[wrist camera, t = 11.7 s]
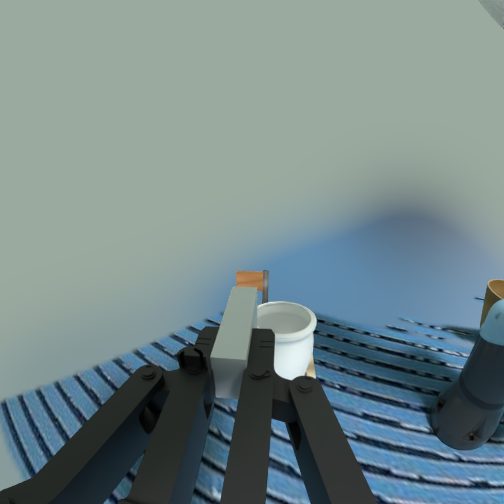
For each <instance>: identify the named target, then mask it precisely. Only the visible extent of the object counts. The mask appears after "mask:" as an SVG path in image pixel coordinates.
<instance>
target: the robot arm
mask: <svg viewBox="0 0 504 504" xmlns="http://www.w3.org/2000/svg"><path fill="white" fill-rule="evenodd" d="M479 1H480V3H481V4H482V5H483V7H484V8H485V9H486V11H488V13H489V14H490V15H491V16H492V18H494V20H495V21H496V22H497V23H499V25H500V26H501V27H502V28H503V29H504V0H479ZM274 352H275V334H274V332H273V331H272V329H260V328H257V287H233V288H232V291H231V294H230V297H229V300H228V303H227V306H226V309H225V312H224V315H223V318H222V322H221V325H220V327H209V326H206V327H205V328H203V329H202V330H201V331H200V333H199V335H198V338H197V340H196V342H195V345H194V346H189V347H185V348H183V349H181V350H180V351H179V352H178V353H177V357H178V362H179V366H180V368H179V369H177V370H173V371H164V372H162V370H161V368H160V367H158V366H157V365H152V364H150V365H144V366H141V367H140V368H139V369H137V370H136V371H135V372H134V373H133V374H132V375H131V376H130V377H129V379H128V380H127V381H126V382H125V383H124V384H123V385H122V386H121V387H120V388H119V389H118V390H117V391H116V392H115V393H114V394H113V395H112V396H111V397H110V398H109V399H108V400H107V401H106V402H105V403H104V404H103V405H102V406H101V407H100V409H99V410H98V411H97V412H96V413H95V414H94V415H93V416H92V417H91V418H90V419H89V420H88V421H87V422H86V423H85V424H84V425H83V426H82V427H81V428H80V429H79V430H78V431H77V432H76V433H75V434H74V435H73V436H72V438H71V439H70V440H69V441H68V442H67V443H66V444H65V445H64V446H63V447H62V448H61V449H60V450H59V451H58V452H57V453H56V454H55V455H54V456H53V457H52V458H51V459H50V460H49V461H48V462H47V463H46V464H45V466H44V467H43V468H42V469H41V470H40V471H39V472H38V473H37V474H36V475H35V476H34V477H33V478H31V479H28V480H26V481H24V482H21V483H19V484H17V485H14V486H12V487H9V488H7V489H4V490H2V491H0V504H103V503H104V502H105V501H106V499H107V498H108V497H109V496H110V494H111V493H112V492H113V491H114V489H115V488H116V487H117V486H118V484H119V483H120V482H121V481H122V479H123V478H124V477H125V475H126V474H127V473H128V472H129V470H130V469H131V468H132V466H133V465H134V464H135V462H136V461H137V460H138V458H139V457H140V456H141V455H142V453H143V452H144V451H145V449H146V448H147V449H146V451H145V454H144V457H143V459H142V462H141V464H140V467H139V469H138V472H137V474H136V477H135V480H134V482H133V485H132V487H131V490H130V493H129V495H128V496H127V497H126V498H124V499H121V500H120V501H119V502H118V503H117V504H190V503H191V499H192V495H193V491H194V487H195V483H196V479H197V475H198V471H199V466H200V462H201V458H202V454H203V450H204V446H205V442H206V438H207V434H208V430H209V425H210V421H211V417H212V413H213V409H214V399H213V398H214V394H215V393H216V397H217V398H227V399H238V405H237V411H236V417H235V422H234V428H233V434H232V439H231V445H230V451H229V456H228V462H227V467H226V473H225V478H224V483H223V489H222V494H221V500H220V504H265V502H266V490H267V477H268V464H269V450H270V434H271V418H272V419H276V420H279V421H282V422H285V424H286V427H287V431H288V434H289V437H290V440H291V444H292V447H293V450H294V453H295V456H296V459H297V462H298V466H299V469H300V472H301V475H302V478H303V481H304V484H305V487H306V490H307V493H308V497H309V500H310V503H311V504H377V502H376V500H375V498H374V496H373V494H372V492H371V489H370V487H369V485H368V483H367V481H366V479H365V477H364V475H363V473H362V470H361V468H360V466H359V464H358V462H357V460H356V458H355V456H354V453H353V451H352V449H351V447H350V445H349V443H348V441H347V439H346V437H345V435H344V432H343V430H342V428H341V426H340V424H339V422H338V420H337V418H336V416H335V414H334V411H333V409H332V407H331V405H330V403H329V401H328V399H327V397H326V395H325V393H324V390H323V388H322V386H321V384H320V383H319V381H318V380H317V379H315V378H313V377H311V376H298V377H295V378H294V379H293V380H288V379H285V378H282V377H281V376H279V375H278V374H277V373H276V372H275V370H274ZM503 412H504V299H502V300H499V301H497V302H496V303H495V304H494V305H493V306H492V307H491V308H490V310H489V312H488V315H487V317H486V319H485V322H484V323H483V325H482V326H481V328H480V334H479V336H478V338H477V341H476V343H475V345H474V347H473V349H472V352H471V354H470V356H469V358H468V360H467V362H466V364H465V365H464V368H463V369H462V371H461V373H460V375H459V376H458V377H457V378H456V379H455V380H453V381H452V382H451V383H450V384H449V385H448V386H447V387H446V388H445V389H443V390H442V391H441V393H440V394H439V395H438V397H437V399H436V400H435V402H434V404H433V406H432V408H431V413H430V419H431V424H432V427H433V429H434V431H435V433H436V435H437V436H438V437H439V438H440V439H441V440H442V441H443V442H444V443H445V444H447V445H448V446H450V447H452V448H455V449H459V450H472V449H476V448H478V447H480V446H482V445H483V444H485V443H486V442H487V441H488V440H489V438H490V437H491V436H492V435H493V434H494V432H495V431H496V429H497V427H498V425H499V422H500V420H501V417H502V415H503Z"/></svg>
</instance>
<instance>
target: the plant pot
mask: <svg viewBox="0 0 504 504" xmlns="http://www.w3.org/2000/svg"><path fill="white" fill-rule="evenodd" d="M502 299H504V280H500V279H493V280H490V281H489V282H488V285H487V289H486V294H485V300H484V305H483V311H482V317H481V323H480V328H481V326H482V325H483V323H484V322H485V319H486V317H487V315H488V312H489V310H490V308H491V307H492V306H493V305H494V304H495V303H496V302H497V301H499V300H502ZM479 334H480V331H479Z"/></svg>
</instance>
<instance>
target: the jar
mask: <svg viewBox="0 0 504 504" xmlns="http://www.w3.org/2000/svg"><path fill="white" fill-rule="evenodd" d="M316 321H317V320H316V316H315V314H314V313H313V312H312V311H311V310H310V309H308V308H307V307H305V306H303V305H300V304H297V303H292V302H281V301H278V302H269V303H264V304H261V305H259V306H257V328H260V329H272V331H273V332H274V334H275V352H274V370H275V372H276V373H277V374H278V375H279V376H281V377H282V378H285V379H288V380H293V379H294V378H295V377H298V376H304V375H305V373H306V370H307V367H308V365H309V363H310V360H311V357H312V352H313V342H314V339H313V331H314V330H315V328H316V324H317V322H316Z"/></svg>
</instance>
